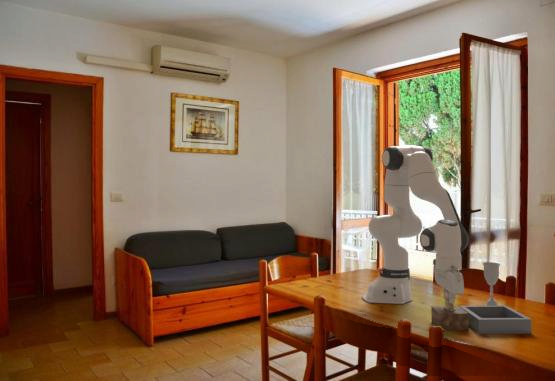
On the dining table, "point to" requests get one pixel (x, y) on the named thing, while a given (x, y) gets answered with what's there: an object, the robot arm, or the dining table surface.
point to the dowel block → (450, 318)
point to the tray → (497, 320)
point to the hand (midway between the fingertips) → (449, 301)
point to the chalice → (491, 279)
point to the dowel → (448, 305)
